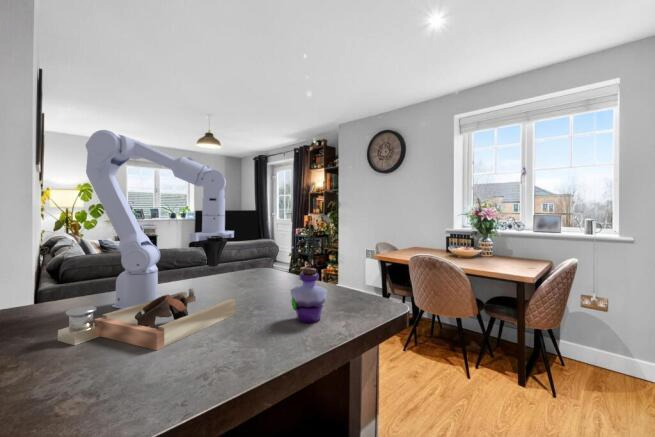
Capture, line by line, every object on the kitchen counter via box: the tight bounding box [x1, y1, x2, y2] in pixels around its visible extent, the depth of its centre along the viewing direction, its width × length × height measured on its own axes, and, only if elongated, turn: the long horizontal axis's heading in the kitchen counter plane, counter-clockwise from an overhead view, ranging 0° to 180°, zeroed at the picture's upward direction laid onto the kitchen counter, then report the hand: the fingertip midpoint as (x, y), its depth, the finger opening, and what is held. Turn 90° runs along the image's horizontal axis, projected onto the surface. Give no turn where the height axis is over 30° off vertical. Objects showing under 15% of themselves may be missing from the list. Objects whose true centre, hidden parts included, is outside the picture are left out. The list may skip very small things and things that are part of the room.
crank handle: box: [187, 287, 197, 304], centre depth 82 cm, size 6×2×4 cm, turn 154°
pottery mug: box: [135, 294, 189, 328], centre depth 65 cm, size 12×10×8 cm
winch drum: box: [57, 305, 102, 346], centre depth 59 cm, size 5×5×5 cm
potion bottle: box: [290, 267, 328, 325], centre depth 72 cm, size 9×9×12 cm
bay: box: [93, 291, 237, 351], centre depth 67 cm, size 17×22×4 cm
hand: (213, 266), depth 83 cm, fingers closed
